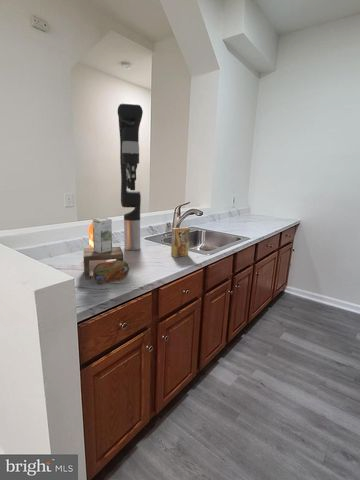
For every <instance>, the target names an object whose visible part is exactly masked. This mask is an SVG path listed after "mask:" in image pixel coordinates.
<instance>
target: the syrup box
mask: <svg viewBox="0 0 360 480" xmlns="http://www.w3.org/2000/svg"><path fill="white" fill-rule="evenodd" d="M112 221H113V220H112V219H111V218H109V217H99V218H98V217H96V219H95V218H92V222H93V244H94V251H95V252H98V253H101V254H102V253H107V252H111V251H112V247H113V233H112V232H113V231H112V227H113V226H112Z"/></svg>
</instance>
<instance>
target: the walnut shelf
mask: <svg viewBox="0 0 360 480" xmlns="http://www.w3.org/2000/svg"><path fill="white" fill-rule="evenodd" d="M107 260H110V261H112V260H122V261H124V252H123V249H122V247H121V246H112V251H111V252H107V253H102V254H101V253H98V252H95V251H94V248H90V247H89V248H87V247H86V248H83V269H84V270H83V271H84V272H83V273H84V280H90V279H91V271H90V270H91V269H90V262H93V261H107Z"/></svg>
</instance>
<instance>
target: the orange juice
mask: <svg viewBox="0 0 360 480" xmlns="http://www.w3.org/2000/svg"><path fill="white" fill-rule="evenodd" d="M96 218H97V217H95V218H94V219H96ZM87 228H88V229H87V230H88V243H89V245H88V247H89V248H94V244H93V221H92V222H91V224H90V225H89V226H88V227H87Z"/></svg>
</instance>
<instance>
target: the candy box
mask: <svg viewBox="0 0 360 480" xmlns="http://www.w3.org/2000/svg"><path fill="white" fill-rule="evenodd" d="M189 242H190V228H189V227H186V226H184V227H183V226H182V227H172V228H171V245H170V246H171V247H170V248H171V249H170V250H171V251H170V252H171V253H170V255H171V256H172V257H173V258H178V257H179V258H180V257H185V256H189V246H190V245H189V244H190V243H189Z"/></svg>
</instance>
